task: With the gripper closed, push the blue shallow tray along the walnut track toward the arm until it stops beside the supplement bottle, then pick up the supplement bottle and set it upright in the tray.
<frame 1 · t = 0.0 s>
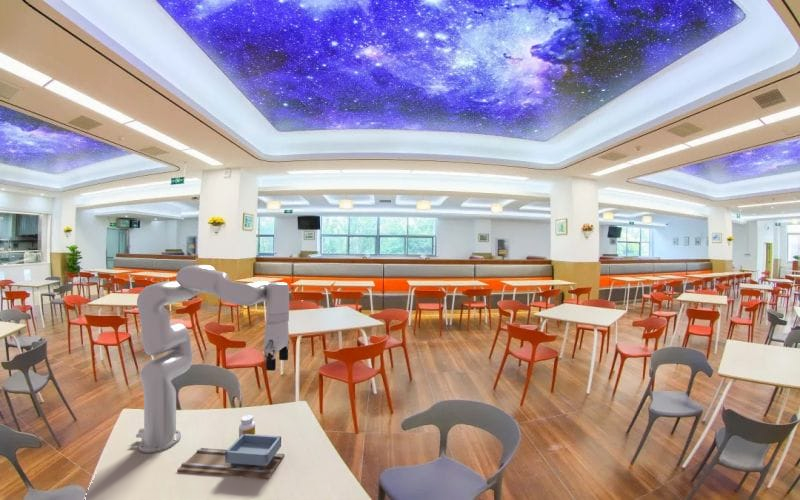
hand: (277, 364, 115), 31 cm above the table, tool pointing down, fingers open, 9 cm apart
blue shallow tray: (254, 452, 108), point 4 cm above the table, slide at 9.0 cm
track: (233, 463, 109), on the table
supplement bottle: (247, 443, 120), on the table
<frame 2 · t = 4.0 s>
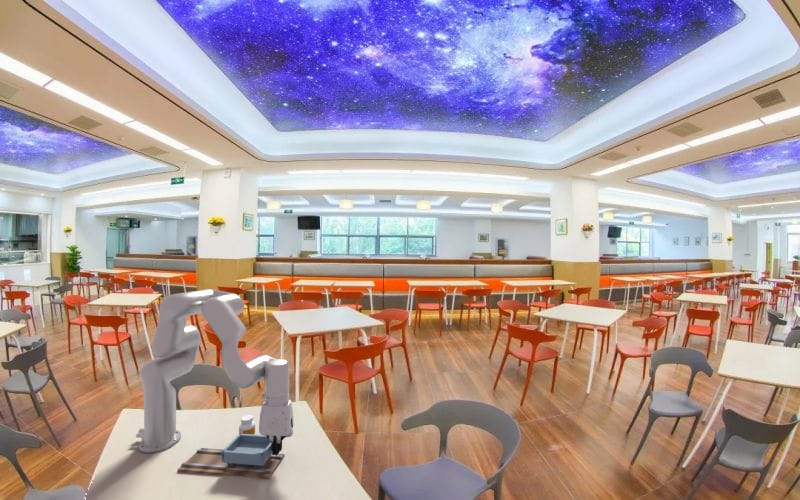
hand: (276, 452, 107), 5 cm above the table, tool pointing down, fingers closed
blue shallow tray: (250, 451, 108), point 4 cm above the table, slide at 7.8 cm, touching gripper
everything else where it was.
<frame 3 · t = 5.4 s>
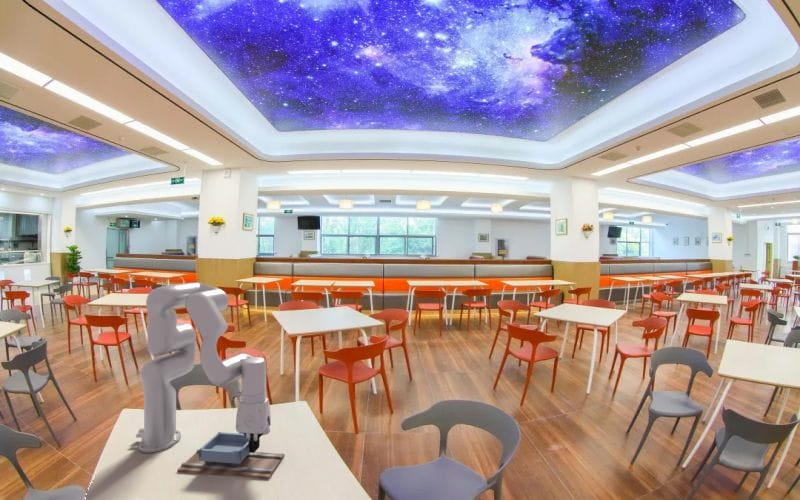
hand: (254, 450, 108), 5 cm above the table, tool pointing down, fingers closed
blue shallow tray: (228, 450, 109), point 4 cm above the table, slide at 0.0 cm, touching gripper
everything else where it was.
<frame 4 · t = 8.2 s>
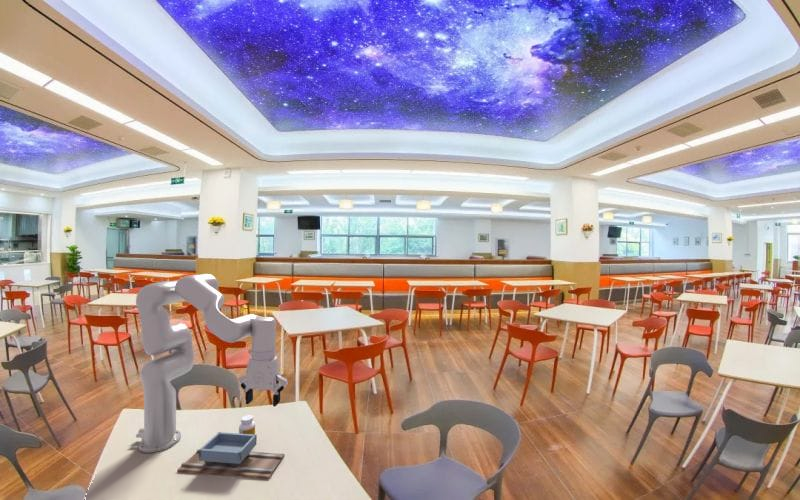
hand: (262, 403, 110), 20 cm above the table, tool pointing down, fingers open, 9 cm apart
blue shallow tray: (228, 450, 109), point 4 cm above the table, slide at 0.0 cm
everything else where it was.
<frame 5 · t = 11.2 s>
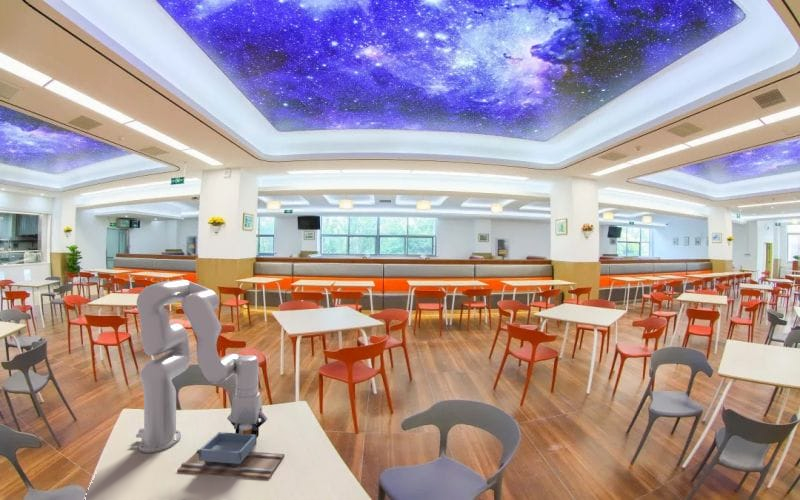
hand: (247, 438, 120), 2 cm above the table, tool pointing down, fingers closed on supplement bottle, 5 cm apart
supplement bottle: (247, 443, 120), on the table, touching gripper
everything else where it was.
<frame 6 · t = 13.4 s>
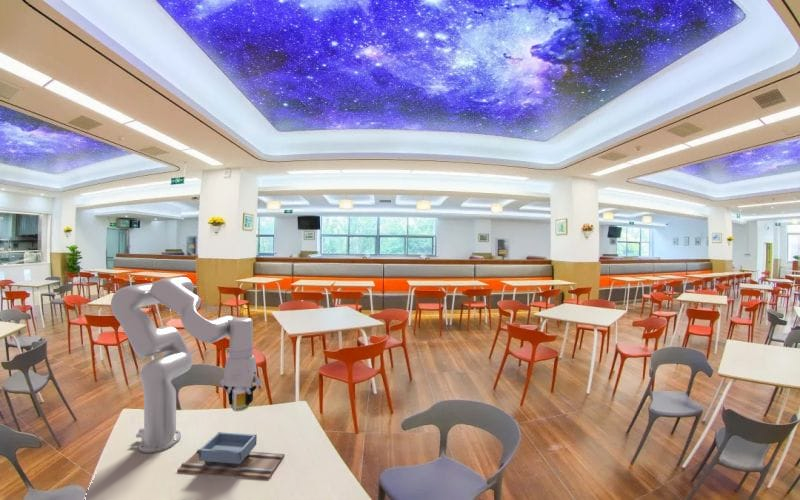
hand: (240, 402, 115), 17 cm above the table, tool pointing down, fingers closed on supplement bottle, 5 cm apart
supplement bottle: (240, 408, 115), point 15 cm above the table, touching gripper
everything else where it was.
when the fingers open (8 cm above the table, at t = 16.0 s): supplement bottle drops 1 cm, resting on blue shallow tray.
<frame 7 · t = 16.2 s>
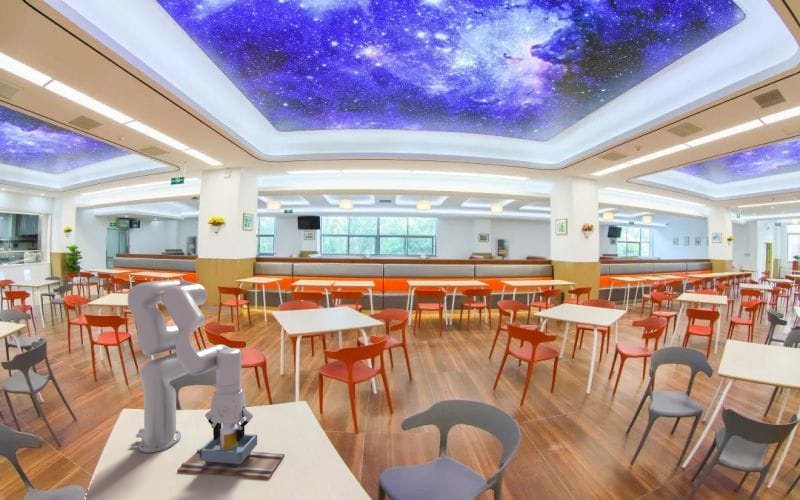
hand: (228, 438, 109), 9 cm above the table, tool pointing down, fingers open, 7 cm apart
blue shallow tray: (229, 450, 109), point 4 cm above the table, slide at 0.2 cm, touching supplement bottle
supplement bottle: (229, 449, 109), point 5 cm above the table, touching blue shallow tray
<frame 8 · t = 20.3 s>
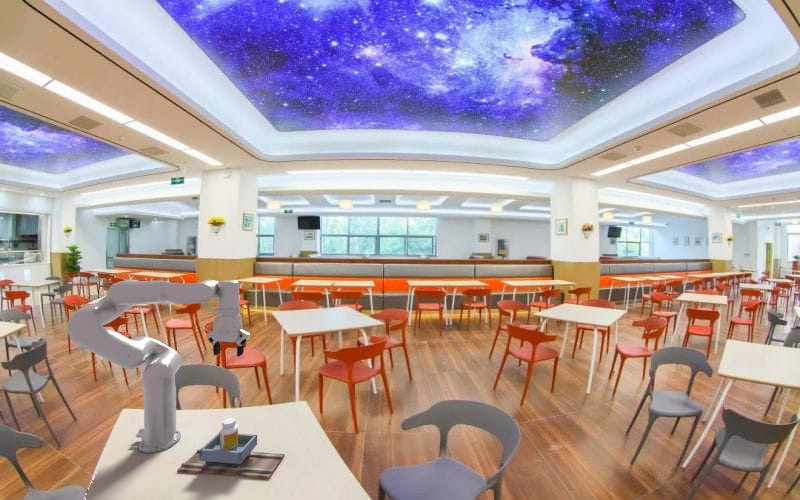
hand: (228, 354, 127), 30 cm above the table, tool pointing down, fingers open, 9 cm apart
nothing on the table moved.
at the end: blue shallow tray slide at 0.2 cm; supplement bottle 0.2 cm from the blue shallow tray (horizontally); supplement bottle point 4.6 cm above the table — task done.
